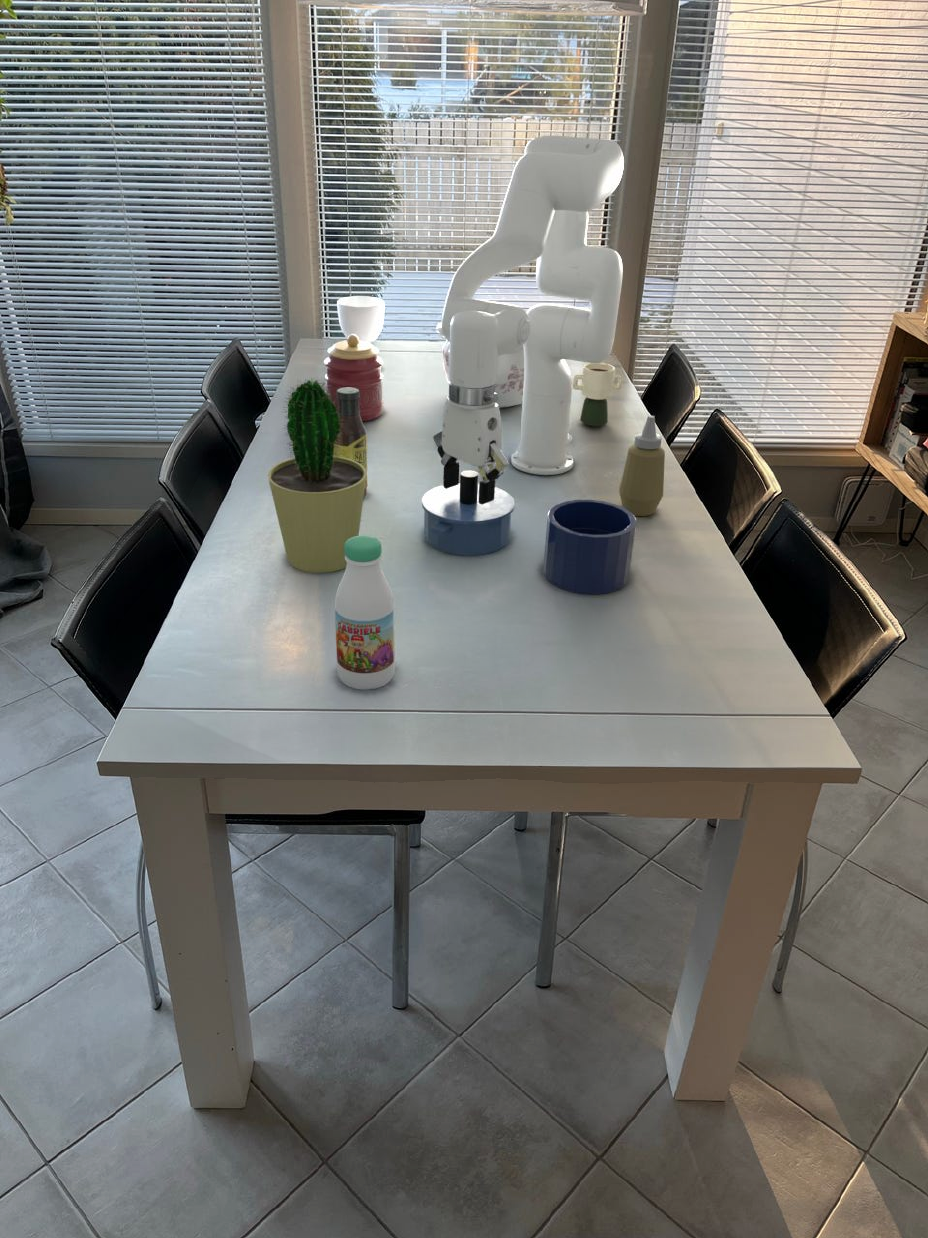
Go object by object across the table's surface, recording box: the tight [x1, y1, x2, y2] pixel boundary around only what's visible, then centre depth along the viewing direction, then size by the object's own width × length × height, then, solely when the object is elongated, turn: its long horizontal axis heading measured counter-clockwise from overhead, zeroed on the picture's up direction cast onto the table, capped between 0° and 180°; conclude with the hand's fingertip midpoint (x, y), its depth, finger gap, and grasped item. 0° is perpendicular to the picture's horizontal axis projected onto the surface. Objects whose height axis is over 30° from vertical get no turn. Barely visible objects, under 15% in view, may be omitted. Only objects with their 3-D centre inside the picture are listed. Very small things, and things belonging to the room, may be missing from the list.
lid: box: [421, 469, 516, 524], centre depth 163 cm, size 16×16×6 cm
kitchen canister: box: [323, 335, 385, 422], centre depth 215 cm, size 13×13×18 cm
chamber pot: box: [435, 322, 524, 409], centre depth 225 cm, size 28×28×21 cm
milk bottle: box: [334, 535, 396, 691], centre depth 125 cm, size 8×8×20 cm
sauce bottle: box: [333, 387, 368, 497], centre depth 176 cm, size 7×6×20 cm
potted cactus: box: [267, 378, 368, 574], centre depth 151 cm, size 15×15×30 cm
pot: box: [542, 499, 637, 595], centre depth 154 cm, size 14×14×10 cm
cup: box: [336, 295, 385, 344], centre depth 243 cm, size 12×12×17 cm
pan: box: [423, 509, 512, 556], centre depth 166 cm, size 15×20×6 cm
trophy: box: [572, 362, 623, 427], centre depth 214 cm, size 11×7×13 cm, turn 95°
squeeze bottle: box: [618, 414, 666, 517], centre depth 174 cm, size 8×8×18 cm
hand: (468, 493), depth 163 cm, fingers open, 7 cm apart
